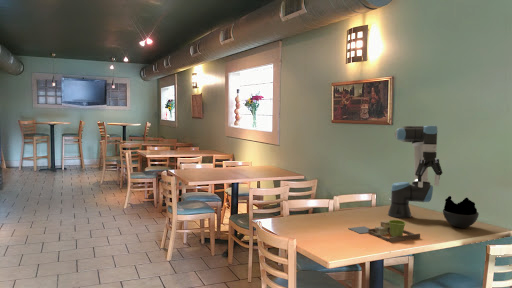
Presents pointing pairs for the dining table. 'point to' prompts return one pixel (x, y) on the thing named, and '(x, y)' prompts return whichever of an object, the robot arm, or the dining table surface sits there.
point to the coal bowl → (460, 213)
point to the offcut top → (385, 224)
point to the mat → (360, 229)
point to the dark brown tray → (397, 238)
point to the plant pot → (396, 227)
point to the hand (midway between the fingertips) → (428, 186)
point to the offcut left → (381, 230)
